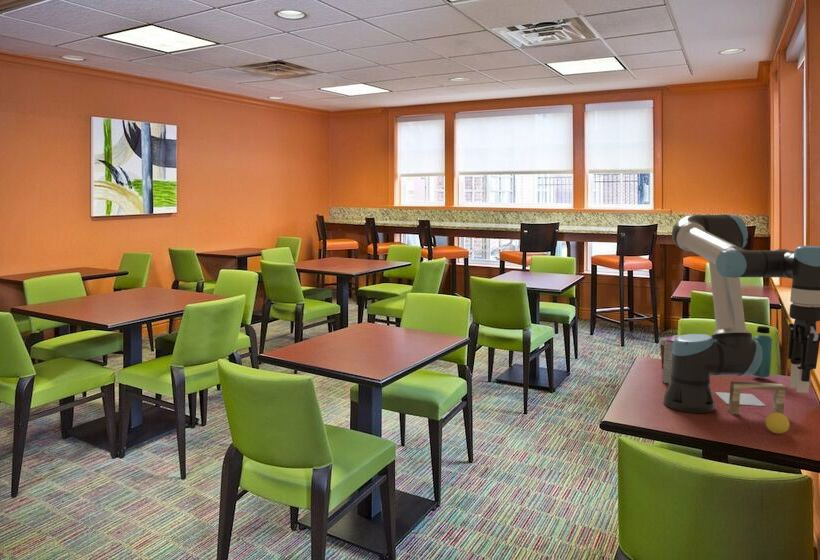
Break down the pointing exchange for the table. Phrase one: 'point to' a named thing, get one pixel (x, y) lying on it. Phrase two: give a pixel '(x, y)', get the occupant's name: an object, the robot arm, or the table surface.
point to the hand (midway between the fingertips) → (798, 389)
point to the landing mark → (741, 399)
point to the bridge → (778, 388)
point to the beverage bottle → (764, 352)
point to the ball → (777, 423)
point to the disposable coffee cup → (662, 348)
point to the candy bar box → (668, 358)
